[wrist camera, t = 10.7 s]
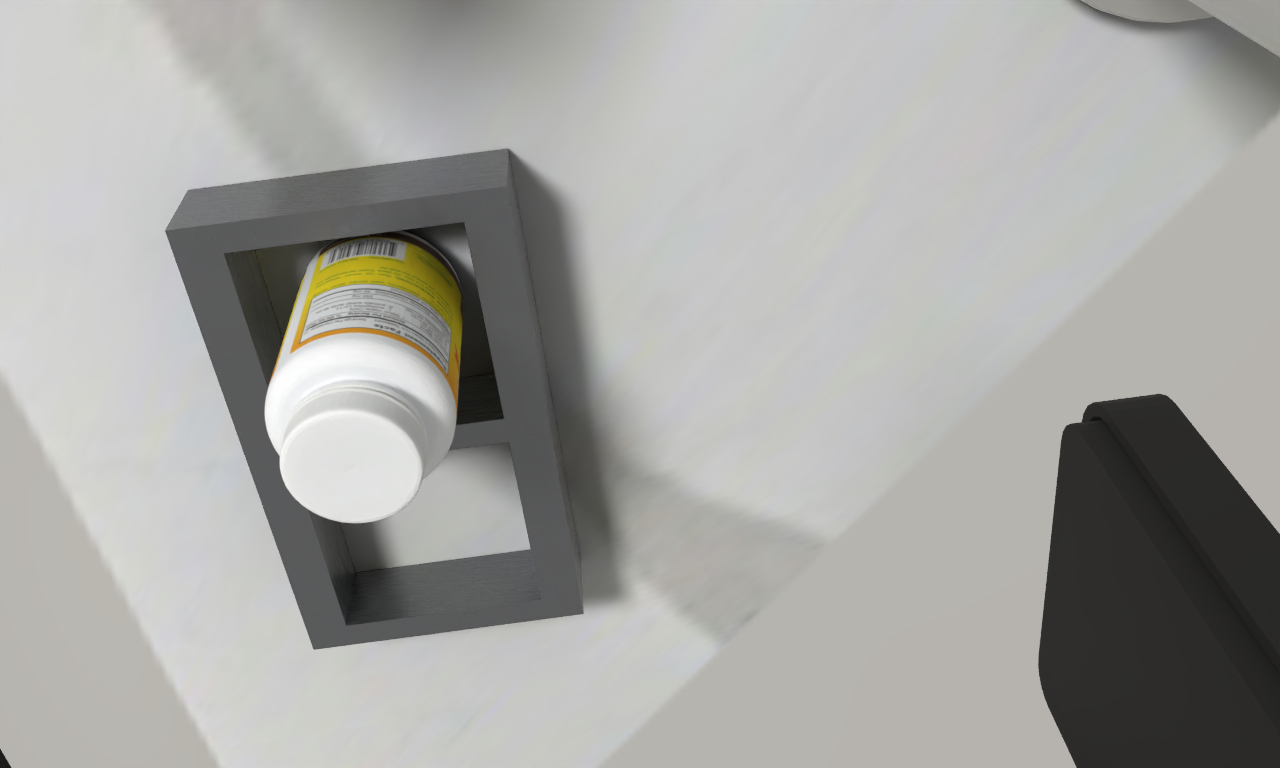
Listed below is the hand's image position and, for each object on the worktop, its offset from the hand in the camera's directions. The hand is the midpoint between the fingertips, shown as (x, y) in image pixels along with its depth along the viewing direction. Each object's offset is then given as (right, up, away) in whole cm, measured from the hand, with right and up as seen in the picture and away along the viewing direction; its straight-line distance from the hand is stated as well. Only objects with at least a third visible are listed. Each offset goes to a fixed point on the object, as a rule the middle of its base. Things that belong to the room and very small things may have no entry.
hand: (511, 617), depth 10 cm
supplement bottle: (-8, +5, +32) cm, 34 cm away
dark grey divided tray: (-7, +1, +35) cm, 35 cm away
